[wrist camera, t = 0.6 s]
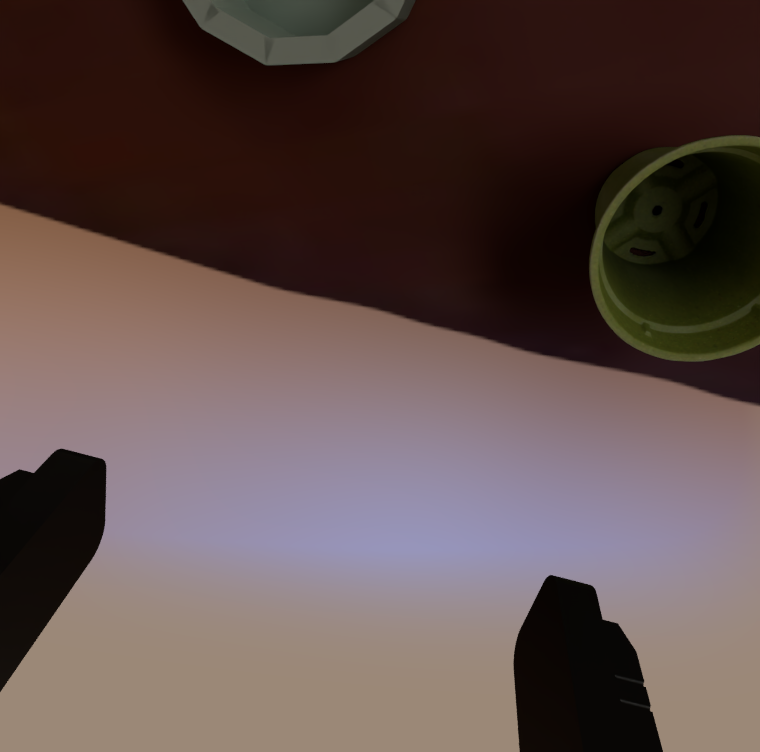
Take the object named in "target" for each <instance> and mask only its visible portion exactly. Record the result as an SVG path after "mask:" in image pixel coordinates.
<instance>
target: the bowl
mask: <svg viewBox="0 0 760 752" xmlns="http://www.w3.org/2000/svg"><path fill="white" fill-rule="evenodd" d="M415 1H416V0H183V2H184V3H185V5H186V6H187V8H188V9H189V11H190V13H191V14H192V16H193V17H194V19H195V20H196V22H197V23H198V25H199V26H200V28H201V29H203V30H205V31H206V32H208V33H210V34H212V35H213V36H215V37H217V38H219V39H220V40H222V41H224V42H226V43H228V44H229V45H231V46H233V47H235V48H236V49H238V50H240V51H242V52H243V53H245V54H247V55H249V56H250V57H252V58H254V59H256V60H257V61H259V62H261V63H263V64H264V65H287V64H311V63H334V62H338V61H341V60H345V59H348V58H351V57H354V56H356V55H357V54H359V53H360V52H362V51H363V50H364V49H366V48H367V47H369V46H370V45H371V44H373V43H374V42H376V41H377V40H378V39H380V38H381V37H383V36H384V35H385V34H387V33H388V32H390V31H391V30H392V29H394V28H395V27H396V26H398V25H399V24H401V23H402V22H403V21H405V20H406V19H407V17H408V15H409V13H410V11H411V9H412V7H413V5H414V3H415Z"/></svg>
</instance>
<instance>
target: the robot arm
mask: <svg viewBox="0 0 760 752" xmlns="http://www.w3.org/2000/svg"><path fill="white" fill-rule="evenodd" d="M105 503H106V463H105V461H104V460H103V459H100V458H96V457H92V456H88V455H85V454H81V453H77V452H73V451H69V450H65V449H59V450H56V451H55V452H54V453H53V454H52V455H51V456H50V457H49V458H48V459H47V460H46V461H45V462H44V463H43V464H42V465H41V466H40V467H39V468H38V469H37V470H36V472H35V473H31V472H27V471H23V470H17V471H16V472H13V473H12V474H10V475H8V476H6V477H4V478H2V479H0V692H1V690H2V689H3V687H4V686H5V684H6V683H7V681H8V680H9V678H10V677H11V676H12V674H13V673H14V671H15V670H16V668H17V667H18V665H19V664H20V663H21V661H22V659H23V658H24V657H25V655H26V654H27V652H28V651H29V649H30V648H31V647H32V645H33V644H34V642H35V641H36V639H37V638H38V636H39V635H40V633H41V632H42V631H43V629H44V628H45V626H46V625H47V623H48V622H49V620H50V619H51V617H52V616H53V615H54V613H55V612H56V610H57V609H58V607H59V606H60V605H61V603H62V602H63V600H64V599H65V597H66V596H67V594H68V593H69V592H70V590H71V589H72V587H73V586H74V584H75V583H76V581H77V580H78V578H79V577H80V576H81V574H82V573H83V571H84V570H85V568H86V567H87V565H88V564H89V563H90V561H91V560H92V558H93V556H94V555H95V553H96V551H97V549H98V546H99V544H100V541H101V539H102V535H103V532H104V526H105ZM514 678H515V691H516V692H515V693H516V706H517V720H518V734H519V748H520V752H663V750H662V746H661V742H660V739H659V735H658V731H657V727H656V724H655V720H654V716H653V712H650V702H649V697H648V694H647V690H646V687H644V686H643V683H644V679H643V675H642V672H641V668H640V664H639V660H638V656H637V653H636V651H635V649H634V648H633V646H632V645H631V643H630V641H629V640H628V638H627V637H626V635H625V634H624V632H623V631H622V629H621V628H620V626H619V625H618V624H617V623H614V622H610V621H606V620H602V615H601V611H600V606H599V602H598V597H597V594H596V591H595V589H594V587H593V586H591V585H588V584H584V583H580V582H576V581H572V580H568V579H565V578H561V577H556V576H553V575H550V576H548V577H547V578H546V579H545V581H544V583H543V585H542V587H541V589H540V591H539V593H538V595H537V597H536V599H535V601H534V603H533V605H532V607H531V609H530V611H529V613H528V615H527V617H526V619H525V621H524V623H523V625H522V627H521V629H520V631H519V634H518V637H517V641H516V645H515V652H514Z"/></svg>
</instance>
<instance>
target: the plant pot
mask: <svg viewBox="0 0 760 752" xmlns="http://www.w3.org/2000/svg"><path fill="white" fill-rule="evenodd" d="M676 159H677V160H680V161H682V162H683V164H684V166H683V167H682V168H678V167H674V166H670V165H666V164H668V163H670V162H672V161H674V160H676ZM703 202H705V203H707V205H708V206H707V209H706V212H705V219H704V221H703V223H702V224H701V226H700V227H698V228H695V227H694V224H695V222H696V219H697V217H698V215H699V212H700V209H701V203H703ZM655 206H661V207H662V211H661V214H659V215H653V213H652V210H653V208H654V207H655ZM595 225H596V230H595V233H594V236H593V240H592V244H591V249H590V256H589V278H590V284H591V289H592V293H593V297H594V300H595V302H596V305H597V307H598V309H599V311H600V313H601V315H602V317H603V318H604V320H605V321H606V323H607V324H608V325H609V327H610V328H611V329H612V330H613V331H614V332H615V333H616V334H617V335H618V336H619V337H620V338H621V339H622V340H623V341H625V342H626V343H628V344H629V345H631V346H633V347H634V348H636V349H638V350H640V351H642V352H644V353H647V354H650V355H652V356H655V357H658V358H663V359H667V360H674V361H692V362H693V361H706V360H713V359H718V358H723V357H726V356H731V355H735V354H738V353H741V352H743V351H745V350H748V349H751V348H753V347H755V346H757V345H759V344H760V137H755V136H748V135H730V136H719V137H713V138H706V139H702V140H698V141H694V142H691V143H688V144H685V145H682V146H680V147H660V148H653V149H649V150H646V151H643V152H641V153H639V154H637V155H635V156H633V157H631V158H630V159H628V160H627V161H626V162H624V163H623V164H622V165H620V166H619V167H618V168H617V169H616V170H614V171H613V172H612V174H611V175H610V176H609V177H608V179H607V180H606V182H605V183H604V185H603V187H602V189H601V191H600V193H599V196H598V199H597V203H596V208H595ZM632 247H635V248H637V249H641V250H646V251H648V250H649V251H651V252H652V251H655V252H656V254H653V255H651V256H637V255H633V254H632V253H631V252H630V248H632Z"/></svg>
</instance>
